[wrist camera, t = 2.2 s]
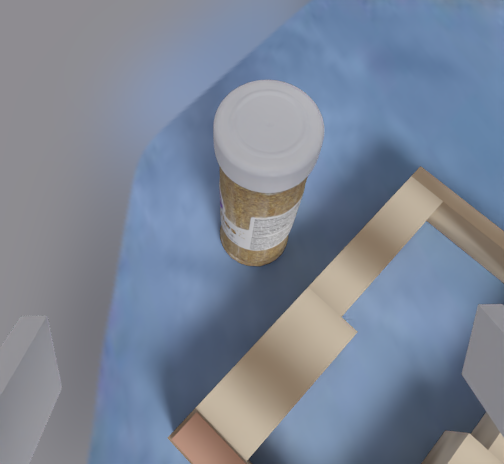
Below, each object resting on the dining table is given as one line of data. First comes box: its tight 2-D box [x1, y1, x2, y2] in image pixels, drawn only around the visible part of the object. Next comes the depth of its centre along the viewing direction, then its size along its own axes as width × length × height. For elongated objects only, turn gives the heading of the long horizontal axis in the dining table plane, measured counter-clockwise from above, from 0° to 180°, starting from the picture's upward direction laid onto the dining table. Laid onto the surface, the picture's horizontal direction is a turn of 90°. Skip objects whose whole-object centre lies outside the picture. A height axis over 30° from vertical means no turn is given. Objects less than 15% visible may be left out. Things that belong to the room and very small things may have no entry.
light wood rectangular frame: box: [168, 166, 504, 464], centre depth 27 cm, size 22×15×3 cm
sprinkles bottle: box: [213, 80, 324, 266], centre depth 25 cm, size 5×5×14 cm
